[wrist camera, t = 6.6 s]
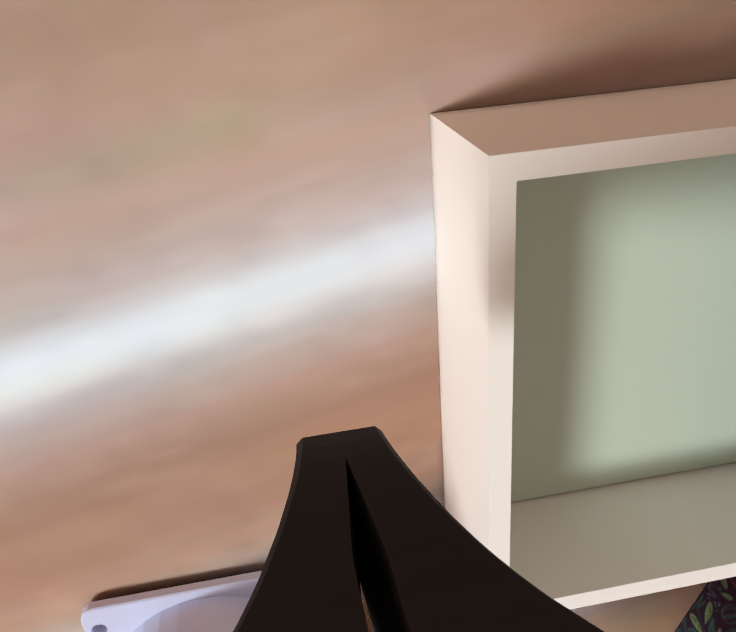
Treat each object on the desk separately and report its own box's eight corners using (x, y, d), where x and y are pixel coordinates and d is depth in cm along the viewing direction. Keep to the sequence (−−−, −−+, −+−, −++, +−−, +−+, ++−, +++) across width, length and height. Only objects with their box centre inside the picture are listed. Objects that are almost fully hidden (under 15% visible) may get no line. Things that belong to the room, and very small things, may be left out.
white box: (847, 438, 27) (968, 529, 22) (444, 510, 25) (489, 625, 21) (958, 53, 20) (1156, 74, 16) (430, 113, 19) (488, 155, 14)
